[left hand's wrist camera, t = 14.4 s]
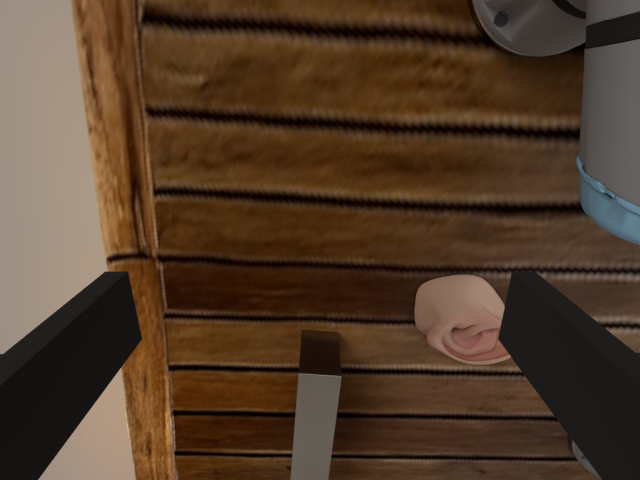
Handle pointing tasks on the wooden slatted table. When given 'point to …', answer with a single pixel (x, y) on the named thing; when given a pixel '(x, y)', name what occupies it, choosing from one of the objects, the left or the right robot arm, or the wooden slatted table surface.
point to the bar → (316, 405)
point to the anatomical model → (461, 318)
